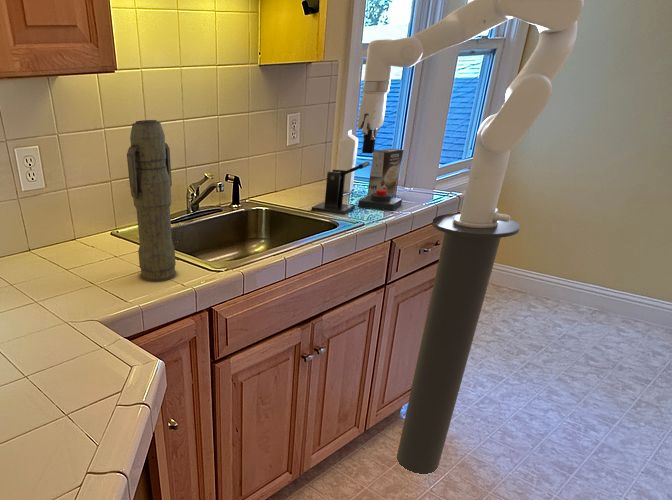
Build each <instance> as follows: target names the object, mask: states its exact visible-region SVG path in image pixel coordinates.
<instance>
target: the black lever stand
mask: <svg viewBox="0 0 672 500" xmlns="http://www.w3.org/2000/svg"><path fill="white" fill-rule="evenodd" d="M339 171H340V172H339ZM345 171H346V170H336V169H335V168H334V169H332V171H331V170H328V171H327V173H326V174H327V175H326V183H325V193H324V194H325V196H324V201H322V202H319V203H317V204H315V205H313V206H311V211H313V212H322V213H329V214H336V215H346V214H348V213H349V212H352V211H353V210H355V209H356V205H355V204H346V203H343V202H344V193H345V192H344V184H345V175H346V174H345V175H343V176H342V178H341V173H342V172H345ZM340 178H341V179H340Z"/></svg>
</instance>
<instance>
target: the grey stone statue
mask: <svg viewBox="0 0 672 500" xmlns="http://www.w3.org/2000/svg"><path fill="white" fill-rule="evenodd" d="M129 141H130V147H128V149H127V153H126V159H127V160H126V162H127V171H128V181H129V189H130V195H131V197H132V199H133V200H132V201H133V205H134V208H135V209H136V220H137V230H138V241H139V247H138V251H137V254H138V262H139V263H138V265H139V268H140V277H141V279H142V280H145V281H148V282H164V281H168V280H169V281H170V280H171V279H173V278H175V276H176V275H177V274H176V273H177V272H176V265H177V264H176V263H177V262H176V249H175V246H174V242H173V235H172V234H173V233H172V220H171V205H172V188H171V187H172V186H173V184H172V181H173V180H172V167H171V165H172V164H171V149H170V147H169V145H168V143H167V142H166V135H165V132H164V129H163V127H162V124H161V122H160V121H158V120H157V119H145V120H136V121H135V123H132V124H131V130H130V136H129Z"/></svg>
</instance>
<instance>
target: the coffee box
mask: <svg viewBox="0 0 672 500" xmlns="http://www.w3.org/2000/svg"><path fill="white" fill-rule="evenodd" d="M403 157H404V149H400V148H383V149H376V150H374V152H373V153H372V158H371V164H370V165H371V166H370V172H369V180H368V186H367V187H368V188H367V194H366V197H367V196H371V194H372V193H376V190H379V189H384V190H387V193H389V194H391V197H393V196H397V193H398V192H397V191H398V187H399V186H398V185H399V179H400V174H401V167H402V163H403Z"/></svg>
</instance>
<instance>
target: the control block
mask: <svg viewBox="0 0 672 500" xmlns="http://www.w3.org/2000/svg"><path fill="white" fill-rule="evenodd" d="M402 202H403V198H397V197H392V196H391V194H389V193H387V195H386V196H377V195H376V193H372V194H371V196H367V195H366V196H365V197H363V198H361V199H360V200H358V205H357V207H358V208H366V209H371V210H372V209H373V210H382V211H388V212H389V211H390V212H393V211H395V210H396V209H398V208H399V207H401V206H402Z"/></svg>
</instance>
